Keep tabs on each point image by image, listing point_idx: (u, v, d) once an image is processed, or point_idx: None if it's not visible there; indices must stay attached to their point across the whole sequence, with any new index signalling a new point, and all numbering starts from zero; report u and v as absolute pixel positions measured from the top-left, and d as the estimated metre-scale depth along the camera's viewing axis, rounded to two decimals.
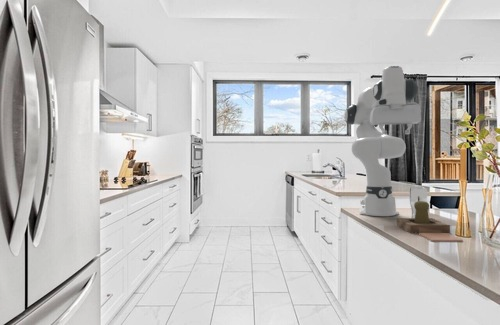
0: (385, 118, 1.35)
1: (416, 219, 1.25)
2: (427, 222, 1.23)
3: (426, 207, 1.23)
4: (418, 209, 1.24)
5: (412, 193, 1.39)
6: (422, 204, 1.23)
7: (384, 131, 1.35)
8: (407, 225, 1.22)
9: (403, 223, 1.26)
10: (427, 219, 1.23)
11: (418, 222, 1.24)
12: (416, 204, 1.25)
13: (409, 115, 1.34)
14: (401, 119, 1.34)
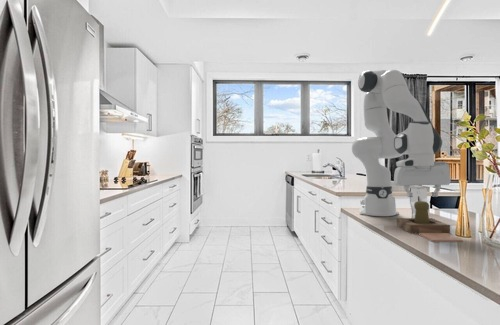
0: (411, 179, 1.24)
1: (416, 219, 1.25)
2: (427, 222, 1.23)
3: (426, 207, 1.23)
4: (418, 209, 1.24)
5: None
6: (422, 204, 1.23)
7: (409, 194, 1.24)
8: (407, 225, 1.22)
9: (403, 223, 1.26)
10: (427, 219, 1.23)
11: (418, 222, 1.24)
12: (416, 204, 1.25)
13: (438, 177, 1.23)
14: (428, 182, 1.23)
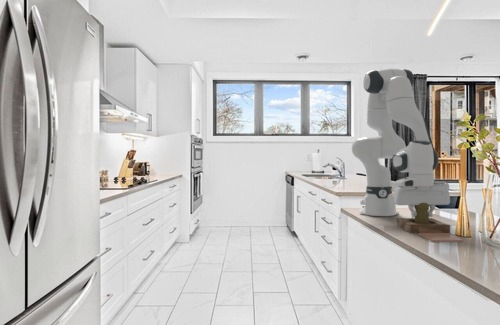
0: (411, 199, 1.24)
1: (416, 219, 1.25)
2: (427, 222, 1.23)
3: (426, 207, 1.23)
4: (418, 209, 1.24)
5: None
6: (422, 204, 1.23)
7: (414, 213, 1.25)
8: (407, 225, 1.22)
9: (403, 223, 1.26)
10: (427, 219, 1.23)
11: (418, 222, 1.24)
12: None
13: (437, 197, 1.23)
14: (428, 202, 1.23)
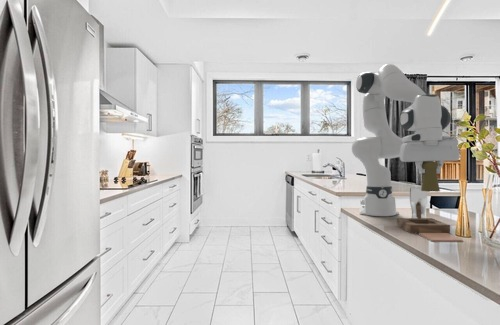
0: (418, 155, 1.17)
1: (424, 180, 1.18)
2: (435, 182, 1.16)
3: (434, 166, 1.16)
4: (426, 169, 1.17)
5: (412, 193, 1.39)
6: (430, 163, 1.16)
7: (422, 170, 1.18)
8: (407, 225, 1.22)
9: (403, 223, 1.26)
10: (435, 179, 1.16)
11: (426, 183, 1.17)
12: (423, 164, 1.18)
13: (446, 152, 1.16)
14: (436, 157, 1.17)
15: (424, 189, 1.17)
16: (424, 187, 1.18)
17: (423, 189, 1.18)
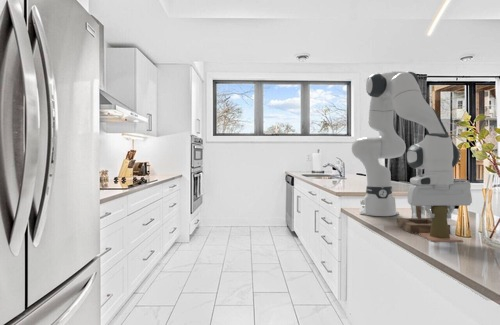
0: (427, 199, 1.10)
1: (433, 225, 1.11)
2: (445, 228, 1.09)
3: (444, 211, 1.09)
4: (435, 214, 1.10)
5: None
6: (440, 208, 1.09)
7: (431, 215, 1.11)
8: (407, 225, 1.22)
9: (403, 223, 1.26)
10: (445, 225, 1.09)
11: (435, 228, 1.10)
12: (433, 208, 1.11)
13: (457, 196, 1.09)
14: (447, 202, 1.09)
15: (433, 235, 1.11)
16: (433, 233, 1.11)
17: (432, 235, 1.11)
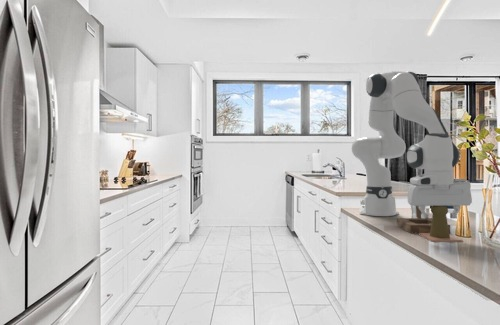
0: (427, 199, 1.10)
1: (433, 225, 1.11)
2: (445, 228, 1.09)
3: (444, 211, 1.09)
4: (435, 214, 1.10)
5: None
6: (440, 208, 1.09)
7: (425, 215, 1.11)
8: (407, 225, 1.22)
9: (403, 223, 1.26)
10: (445, 225, 1.09)
11: (435, 228, 1.10)
12: (433, 208, 1.11)
13: (457, 197, 1.09)
14: (447, 202, 1.09)
15: (433, 235, 1.11)
16: (433, 233, 1.11)
17: (432, 235, 1.11)
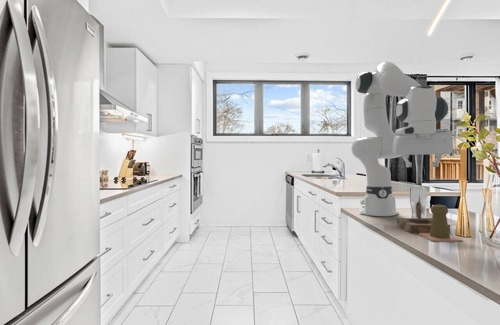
0: (411, 148, 1.15)
1: (433, 225, 1.11)
2: (445, 228, 1.09)
3: (444, 211, 1.09)
4: (435, 214, 1.10)
5: (412, 193, 1.39)
6: (440, 208, 1.09)
7: (409, 164, 1.17)
8: (407, 225, 1.22)
9: (403, 223, 1.26)
10: (445, 225, 1.09)
11: (435, 228, 1.10)
12: (433, 208, 1.11)
13: (439, 145, 1.15)
14: (429, 151, 1.15)
15: (433, 235, 1.11)
16: (433, 233, 1.11)
17: (432, 235, 1.11)
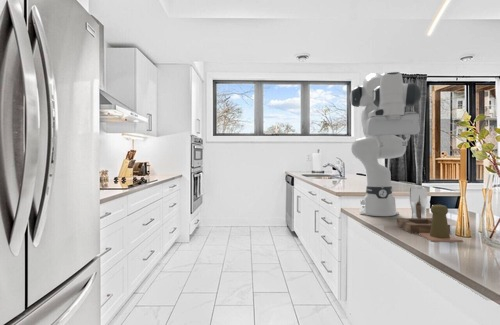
0: (381, 129, 1.27)
1: (433, 225, 1.11)
2: (445, 228, 1.09)
3: (444, 211, 1.09)
4: (435, 214, 1.10)
5: (412, 193, 1.39)
6: (440, 208, 1.09)
7: (380, 143, 1.28)
8: (407, 225, 1.22)
9: (403, 223, 1.26)
10: (445, 225, 1.09)
11: (435, 228, 1.10)
12: (433, 208, 1.11)
13: (407, 126, 1.26)
14: (398, 131, 1.26)
15: (433, 235, 1.11)
16: (433, 233, 1.11)
17: (432, 235, 1.11)
